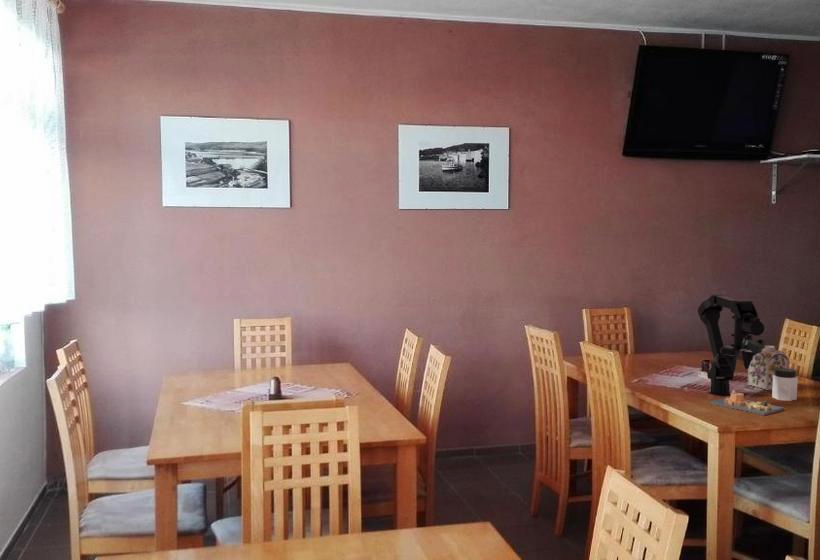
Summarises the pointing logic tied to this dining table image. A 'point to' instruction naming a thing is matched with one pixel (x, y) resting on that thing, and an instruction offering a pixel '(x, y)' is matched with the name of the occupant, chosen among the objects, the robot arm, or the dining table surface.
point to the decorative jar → (766, 367)
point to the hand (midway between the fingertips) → (739, 370)
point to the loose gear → (736, 399)
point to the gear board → (750, 406)
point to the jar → (784, 384)
